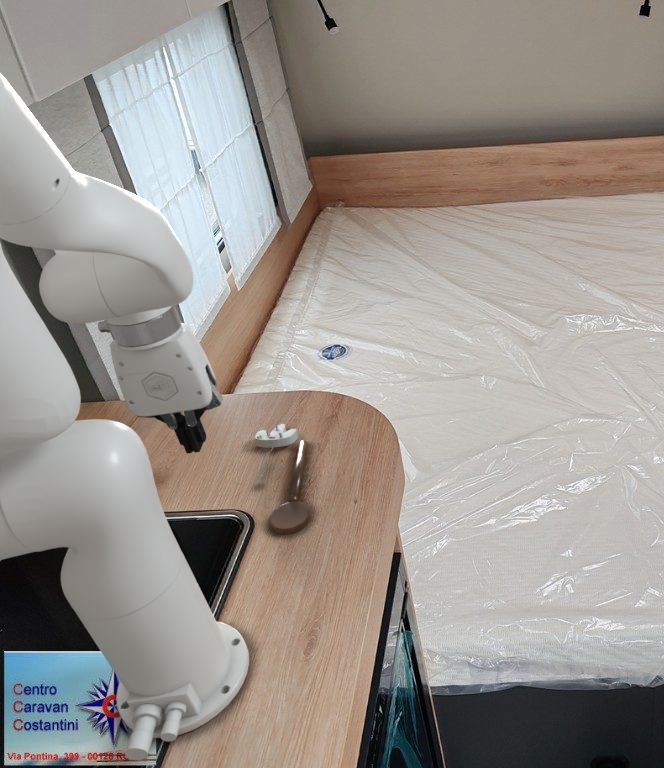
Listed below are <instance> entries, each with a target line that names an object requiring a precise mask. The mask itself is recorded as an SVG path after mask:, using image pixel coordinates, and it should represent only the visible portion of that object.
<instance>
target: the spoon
mask: <svg viewBox="0 0 664 768" xmlns="http://www.w3.org/2000/svg"><path fill="white" fill-rule="evenodd" d="M308 451H309V442H308V441H307V440H305V439H304V440H300V441H299V442H298V444H297V447H296V453H295V459H294V464H293V469H292V474H291V480H290V484H289V485H290V486H289V491H288V495H287V502H285V503H283V504H281V505H280V506H278V507H277V508H276V509H274V511H273V512H272V513H271V515H270V525H271V528H272V529H273V530H274V532H276V533H277V534H281V535H291V534H295V533H298V532H300V531H302V530H303V529H305V528H306V527H307V526H308V525H309V523H310V522H311V518H312V513H311V510H310V507H309V505H308V504H306V503H305V502H303V501H300V497H301V492H302V485H303V480H304V474H305V468H306V462H307V457H308Z"/></svg>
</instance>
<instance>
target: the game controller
mask: <svg viewBox="0 0 664 768" xmlns="http://www.w3.org/2000/svg"><path fill="white" fill-rule="evenodd" d="M254 437H255V438H254V439H255V442H256V446H257V447H259V448H271V450H270V451H269V452H268V453H267V455H266V458H265V468H264V470H263V473H261V474H260V476H259V478H258V482H257V486H258V487H259V488H260V487H261V486H260V480H261V478H262V475H264V474H265V472H266V470H267V466H268V458H269V454H270V453H271V452H272V451H273V449H274V448H281V447H286V446H290V445H293V443H295V442H296V440H298V438H299V435H298V430H297V428H290V429H288V430H287V428H286V424H285V423H280V424H278V425H275V427H274V428H273V429H272V430H271V432H270V431H269V430H265V429H261V430H260V429H259V430H258V431H257V432H256V434H255V436H254Z"/></svg>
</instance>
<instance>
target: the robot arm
mask: <svg viewBox="0 0 664 768" xmlns="http://www.w3.org/2000/svg"><path fill="white" fill-rule="evenodd" d="M0 240H4V241H6V242H8V243H12V244H15V245H19V246H22V247H23V246H24V247H29V248H36V249H44V250H52V251H60V252H58V253H56V254H55V255H53V256H52V257H51V258H50V259H49V260H48V261H47V262H46V264H45V265H44V267H43V269H42V271H41V274H40V278H39V283H38V289H39V294H40V298H41V300H42V303H43V305H44V307H45V308H46V310H47V311H48V312H49V313H50V314H51V315H52V316H53V317H54V318H55V319H57V320H59V321H61V322H63V323H67V324H73V325H80V324H83V325H84V324H91V323H95V322H97V329H98V331H99V332H100V333H107V334H110V335H111V338H112V341H111V342H110V344H109V348H110V355H111V359H112V364H113V369H114V372H115V376H116V380H117V383H118V385H119V388H120V391H121V394H122V396H123V399H124V402H125V404H126V406H127V408H128V410H129V412H130V413H131V414H132V415H134V416H137V417H138V418H145V419H155V420H158V421H160V422H161V423H164V424H166V426H167V427H168V429H170V430H173V431H174V433H175V435H176V437H177V440H178V442H179V445H180V446H183V449H184V451H185V453H186V454H192V453H200V452H201V450H202V447H203V445H204V443H205V442H206V440H207V433H206V430H205V427H204V425H203V423H202V420H201V418H202V416H203V415H204V414H205V412H206V411H210V410H213V409H216V408H218V407H220V406H221V404H222V402H223V400H224V398H223V396H222V394H221V393H220V392H219V390H218V389H217V387H218V381H217V377H216V376H215V373H214V370H213V368H212V365H211V363H210V361H209V358H208V357H207V354H206V353H205V351H204V349H203V347H202V345H201V343H200V341H199V340H198V338H197V337H196V335H195V333H194V332H193V330H192V329H191V328H190V326H189V325H188V324H187V323H186V322H182V321H181V318H180V315H179V312H178V309H177V307H176V306H177V305H180V304H182V303H183V302H185V301H186V300H187V299H188V298H189V296H190V295H191V294H192V291H193V287H194V272H193V268H192V264H191V262H190V259H189V257H188V254H187V252H186V250H185V248H184V246H183V244H182V243H181V241H180V239H179V238H178V236H177V235H176V233H175V231H174V230H173V228H172V226H171V225H170V224H169V222H168V220H167V219H166V217H165V216H164V215H163V214H162V212H161V211H160V210H159V209H157V207H156V206H155V205H153V204H152V203H150V202H149V201H147V200H146V199H144V198H142V197H141V196H139V195H136V194H135V193H133V192H130V191H128V190H126V189H123V188H121V187H119V186H116V185H114V184H112V183H109V182H107V181H104V180H102V179H99V178H96V177H94V176H91V175H87V174H85V173H82V172H78V171H75V170H74V169H73V168H72V166H71V164H70V163H69V162H68V160H67V159H66V158H65V156H64V155H63V154H62V152H61V150H60V149H59V148H58V147H57V146H56V144H55V143H54V141H53V140H52V139H51V138H50V136H49V135H48V133H47V132H46V131H45V129H44V128H43V126H41V124H40V122H39V121H38V119H37V118H36V117H35V116H34V114H33V113H32V112H31V110H30V109H29V108H28V107H27V105H26V104H25V102H24V101H23V99H22V98H21V96H19V94H18V93H17V91H16V90H15V89H14V88H13V86H12V84H10V82H9V81H8V80H7V78H6V77H5V76H4V75H3V73H2V72H0ZM81 401H82V397H81V391H80V386H79V384H78V381H77V379H76V376H75V375H74V372H73V369H72V368H71V365H70V364H69V362H68V360H67V358H66V357H65V355H64V353H63V352H62V350H61V349H60V347H59V345H58V343H57V342H56V340H55V338H54V337H53V335H52V333H51V332H50V331H49V329H48V327H47V325H46V323H45V322H44V321H43V319H42V317H41V316H40V314H39V313H38V311H37V310H36V308H35V306H34V305H33V303H32V301H31V300H30V298H29V297H28V295H27V294H26V292H25V291H24V289H23V286H21V284H20V282H19V281H18V278H17V277H16V275H15V273H14V272H13V270H12V267H10V263H9V262H8V261H7V259H6V256H5V254H4V251H3V247H2V243H1V242H0V561H2V560H6V559H11V558H15V557H18V556H22V555H28V554H32V553H35V552H37V553H38V552H39V553H40V552H45V551H48V550H52V549H58V548H67V551H66V554H65V556H64V558H63V562H62V565H61V571H60V586H61V588H62V593H63V595H64V597H65V599H66V600H67V602H68V603H69V605H70V607H71V609H73V611H74V612H75V614H76V616H77V617H78V618H79V620H80V621H81V623H82V624H83V625H82V626H84V628H85V629H86V631H87V632H88V634H89V635H90V637H91V638H92V640H93V641H94V643H95V645H96V646H97V648H98V649H99V651H100V652H101V654H102V655H103V657H104V658H105V660H106V662H107V663H108V665H109V666H110V667H111V669H112V670H113V672H114V673H115V676H116V677H117V678H118V680H119V683H118V686H117V690H116V697H115V701H116V709H117V711H118V714H119V716H120V718H121V720H122V721H123V722H124V724H125V725H126V727H128V728H129V729H130V730H131V731H132V733H130V736H129V740H128V743H127V746H126V749H125V752H124V756H125V757H126V758H127V759H129V760H131V761H143V760H144V759H147V758H148V756H149V753H150V751H151V747H152V743H153V739H161V740H162V741H163V742H174V741H176V739H177V737H178V736H180V735H183V734H186V733H189V732H192V731H194V730H196V729H198V728H199V727H201V726H203V725H205V724H206V723H208V722H209V721H211V720H212V719H213V718H215V717H216V716H218V715H220V714H221V712H222V711H223V710H224V709H226V708H227V707H228V706H229V704H230V703H231V702H232V701H233V699H235V697H236V696H237V694H238V693H239V691H240V689H241V688H242V687H243V685H244V683H245V680H246V677H247V675H248V672H249V666H250V652H249V649H248V645H247V643H246V641H245V640H244V637H243V635H241V633H240V632H239V631H238V630H237V629H236V628H235V627H233V626H231V625H230V624H227V623H224V622H221V621H217V620H216V618H215V616H214V614H213V612H212V610H211V607H210V606H209V603H208V602H207V600H206V597H205V595H204V594H203V591H202V590H201V587H200V586H199V583H198V582H197V579H196V577H195V575H194V573H193V571H192V569H191V567H190V565H189V563H188V561H187V559H186V556H185V555H184V553H183V551H182V549H181V547H180V545H179V543H178V541H177V539H176V537H175V535H174V532H173V531H172V528H171V526H170V523H169V521H168V519H167V517H166V515H165V514H166V513H165V511H164V509H163V506H162V503H161V500H160V497H159V494H158V490H157V486H156V482H155V481H156V480H155V477H154V473H153V468H152V464H151V461H150V457H149V454H148V451H147V449H146V447H145V444H144V442H143V440H142V439H141V436H139V435H138V433H137V432H136V431H135V430H134V429H133V428H131V427H130V426H128V425H126V424H124V423H122V422H119V421H116V420H112V419H105V418H104V419H102V418H90V419H78V420H77V417H78V415H79V413H80V412H81V403H82V402H81Z"/></svg>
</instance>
